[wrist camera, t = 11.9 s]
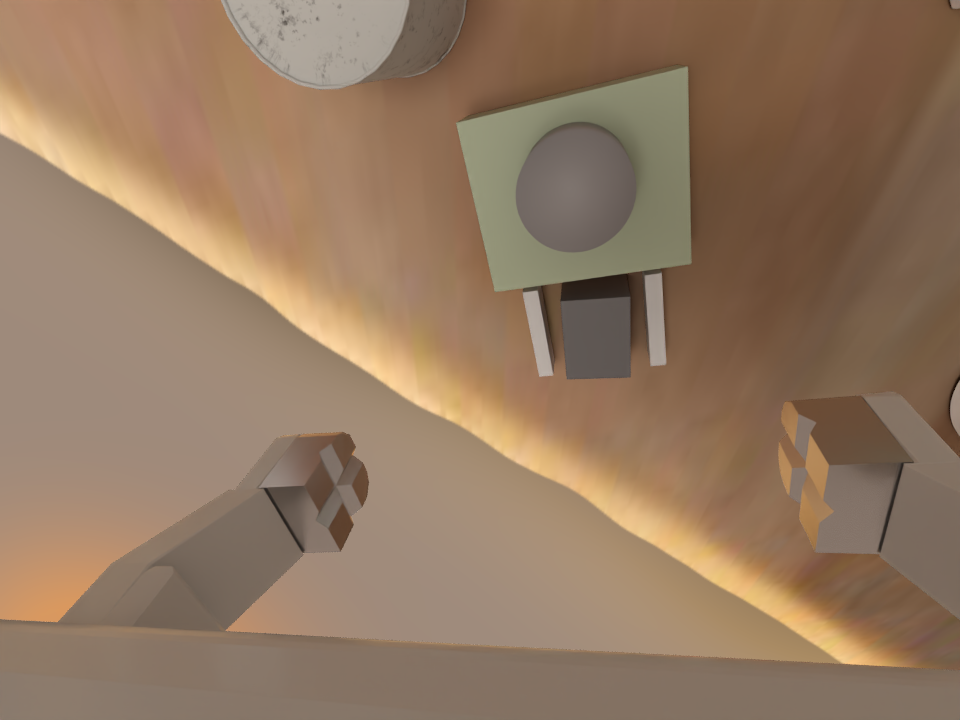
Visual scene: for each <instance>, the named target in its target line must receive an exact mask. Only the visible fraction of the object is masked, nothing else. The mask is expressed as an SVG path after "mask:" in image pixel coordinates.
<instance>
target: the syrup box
mask: <svg viewBox="0 0 960 720" xmlns="http://www.w3.org/2000/svg"><path fill="white" fill-rule="evenodd" d="M950 3H951V8H953V9H959V8H960V0H950Z"/></svg>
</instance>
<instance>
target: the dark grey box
mask: <svg viewBox="0 0 960 720" xmlns="http://www.w3.org/2000/svg"><path fill="white" fill-rule="evenodd" d="M561 313H562V326H563V338H564V351H565V363H566V376H567V379H594V378H627V377H631V369H630V292H629V287H628V281H627V275H626V274H620V275H611V276H604V277H597V278H590V279H583V280H576V281H569V282H562V292H561Z"/></svg>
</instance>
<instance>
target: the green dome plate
mask: <svg viewBox="0 0 960 720" xmlns="http://www.w3.org/2000/svg"><path fill="white" fill-rule="evenodd" d="M456 125H457V129H458V134H459V138H460V142H461V147H462V151H463V155H464V160H465V164H466V168H467V173H468V177H469V181H470V186H471V190H472V194H473V199H474V203H475V207H476V212H477V216H478V220H479V225H480V229H481V233H482V238H483V242H484V246H485V251H486V255H487V259H488V264H489V268H490V272H491V277H492V281H493V285H494V290H495V292H499V291H506V290H513V289H520V288H524V289H523V297H524V302H525V307H526V312H527V317H528V322H529V327H530V332H531V337H532V342H533V347H534V352H535V357H536V362H537V367H538V372H539V377H540V376H551V375H553V372H554V362H555V359H554V354H553V348H552V342H551V337H550V331H549V326H548V320H547V314H546V309H545V303H544V298H543V292H542V287H541V285H548V284H555V283H562V282H569V281H576V280H583V279H590V278H597V277H604V276H611V275H618V274H625V273H632V272H639V271H642V280H643V294H644V308H645V323H646V337H647V351H648V356H649V360H650V365H651V366H658V365H666V350H665V330H664V310H663V289H662V273H661V270H660V268H667V267H674V266H681V265H688V264H691V211H690V156H689V101H688V67H687V66H682V65H674V66H669V67H665V68H661V69H657V70H653V71H649V72H645V73H641V74H637V75H633V76H629V77H625V78H621V79H616V80H612V81H608V82H604V83H600V84H596V85H592V86H588V87H584V88H580V89H576V90H572V91H567V92H563V93H559V94H555V95H551V96H547V97H543V98H539V99H535V100H531V101H527V102H523V103H519V104H514V105H510V106H506V107H502V108H498V109H494V110H490V111H486V112H482V113H478V114H474V115H470V116H467V117H465V118H464V119H462V120H460V121H459V122H457V123H456Z"/></svg>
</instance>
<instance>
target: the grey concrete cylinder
mask: <svg viewBox="0 0 960 720" xmlns="http://www.w3.org/2000/svg"><path fill="white" fill-rule="evenodd" d="M221 2H222V4H223V6H224V9H225V11H226V13H227V16H228V18H229V19H230V21H231V23H232V24H233V26H234V27H235V29H236V31H237V32H238V34H239V35H240V37H241V39H242V40H243V41H244V42H245V44H246V45H247V46H248V47H249V48H250V49H251V50H252V52H253V53H254V54H255V55H256V56H257V57H258V58H259V59H260V60H261V61H262V62H263V63H264V64H266V65H267V66H268V67H270V68H271V69H272V70H273V71H275V72H276V73H277V74H278V75H280V76H282V77H284V78H286V79H288V80H290V81H292V82H294V83H296V84H298V85H301V86H306V87H310V88H314V89H319V90H325V89H342V88H345V87H348V86H351V85H354V84H360V83H366V82H373V81H379V80H385V79H392V78H401V77H413V76H416V75H419V74H422V73H425V72H427V71H428V70H430V69H431V68H433V67H435V66H436V65H438V64H439V63H440V62H441V61H442V60H443V58H444V57H445V56H446V55H447V54H448V53H449V52H450V50H451V48H452V47H453V45H454V43H455V42H456V40H457V38H458V36H459V33H460V30H461V27H462V24H463V21H464V17H465V10H466V3H467V0H221Z"/></svg>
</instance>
